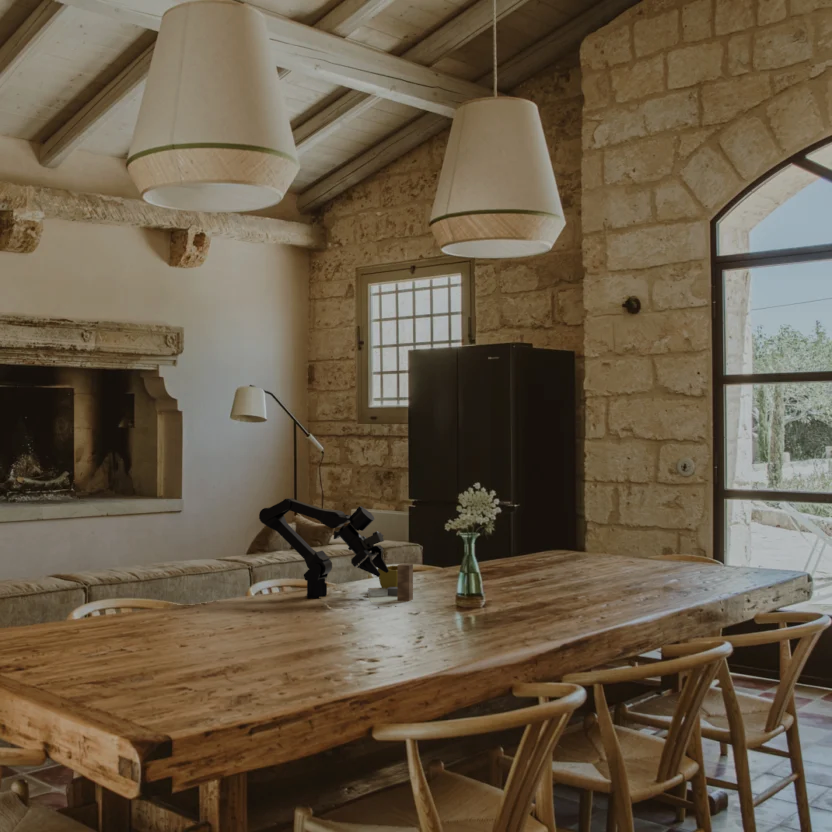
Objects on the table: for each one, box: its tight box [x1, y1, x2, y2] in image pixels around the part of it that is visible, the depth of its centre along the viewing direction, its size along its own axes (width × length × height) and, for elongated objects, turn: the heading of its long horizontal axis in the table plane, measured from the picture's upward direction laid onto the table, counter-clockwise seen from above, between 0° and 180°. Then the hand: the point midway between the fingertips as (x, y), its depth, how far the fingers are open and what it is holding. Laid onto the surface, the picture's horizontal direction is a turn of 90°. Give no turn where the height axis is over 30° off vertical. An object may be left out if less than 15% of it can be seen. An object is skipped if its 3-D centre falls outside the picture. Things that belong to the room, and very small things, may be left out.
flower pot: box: [377, 565, 397, 588], centre depth 360 cm, size 9×9×9 cm
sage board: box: [367, 594, 412, 603], centre depth 346 cm, size 14×16×1 cm
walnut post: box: [396, 563, 414, 601], centre depth 341 cm, size 4×4×12 cm
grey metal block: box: [367, 587, 388, 597], centre depth 350 cm, size 6×4×2 cm, turn 106°
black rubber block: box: [387, 587, 397, 596], centre depth 351 cm, size 5×4×2 cm
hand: (383, 573), depth 344 cm, fingers open, 9 cm apart
